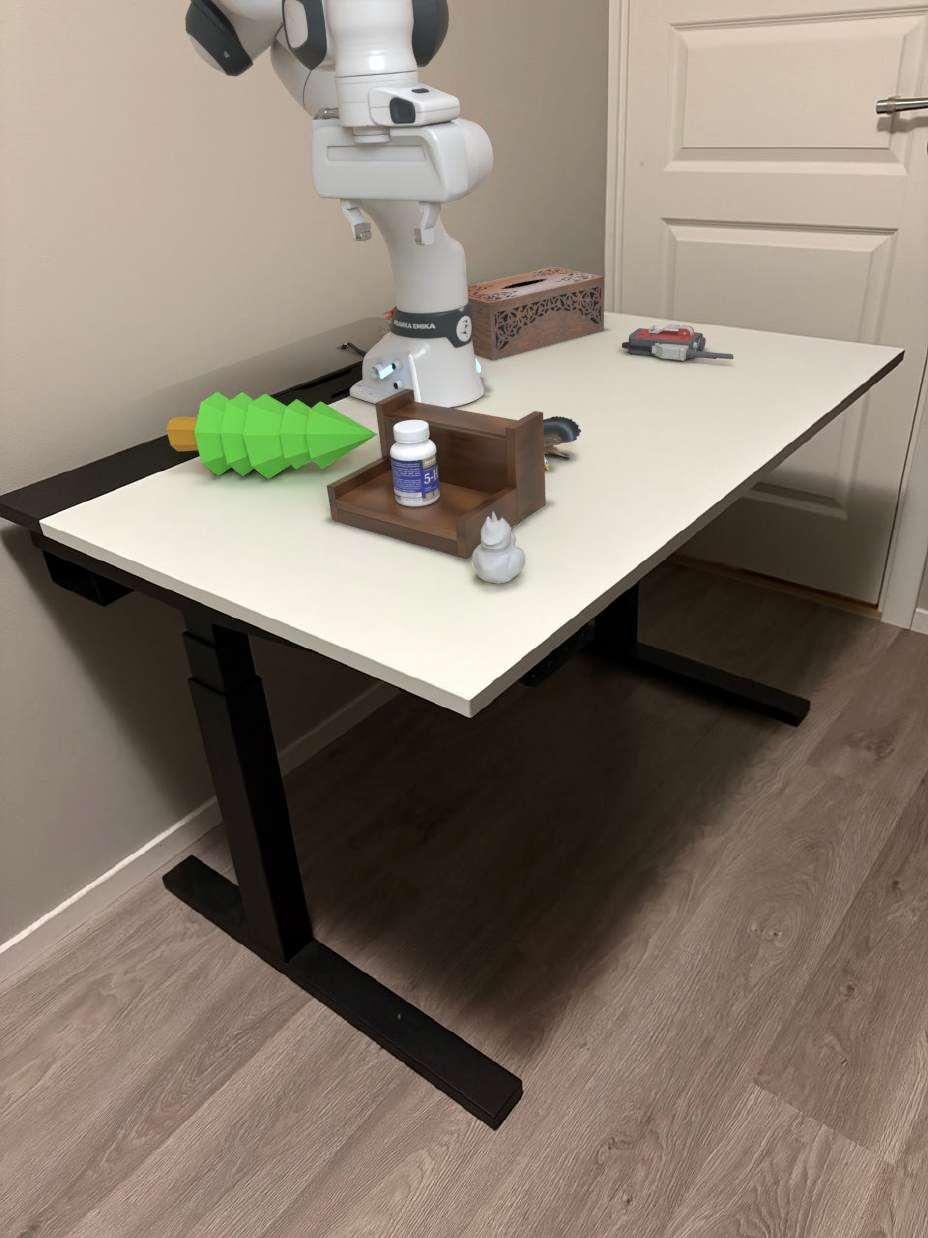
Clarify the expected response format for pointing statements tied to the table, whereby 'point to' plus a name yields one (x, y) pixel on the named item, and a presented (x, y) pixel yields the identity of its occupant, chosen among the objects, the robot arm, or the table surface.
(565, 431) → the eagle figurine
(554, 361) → the table surface
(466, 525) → the shelf
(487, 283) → the tissue box cover
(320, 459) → the decorative tree
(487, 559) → the rubber duck
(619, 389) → the table surface
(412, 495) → the pill bottle
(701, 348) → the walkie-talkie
